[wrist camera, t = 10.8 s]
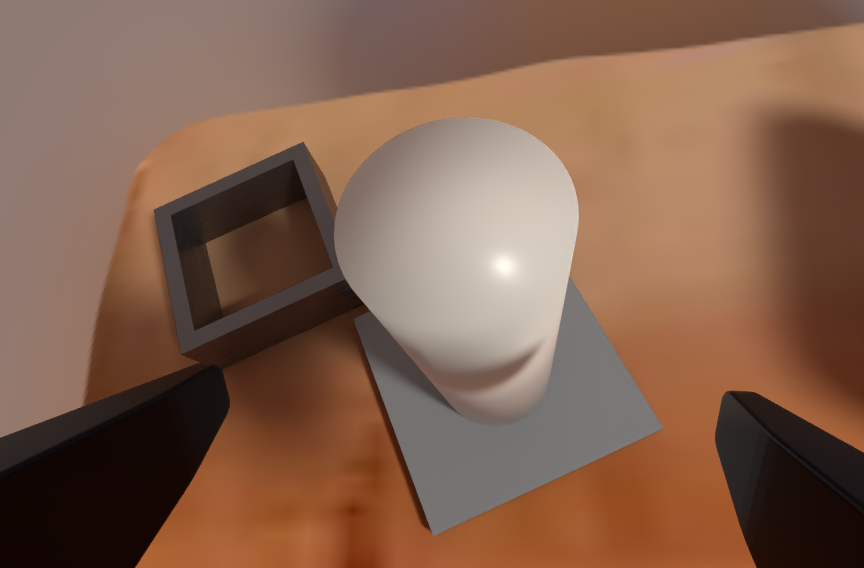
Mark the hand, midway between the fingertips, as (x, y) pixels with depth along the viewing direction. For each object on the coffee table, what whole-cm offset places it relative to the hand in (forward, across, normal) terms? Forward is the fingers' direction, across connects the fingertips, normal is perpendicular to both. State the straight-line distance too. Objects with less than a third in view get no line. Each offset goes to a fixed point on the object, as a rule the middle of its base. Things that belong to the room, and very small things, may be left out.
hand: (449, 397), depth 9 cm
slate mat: (+12, 0, +7) cm, 14 cm away
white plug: (+11, 0, +6) cm, 13 cm away
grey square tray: (+15, +12, +3) cm, 20 cm away
